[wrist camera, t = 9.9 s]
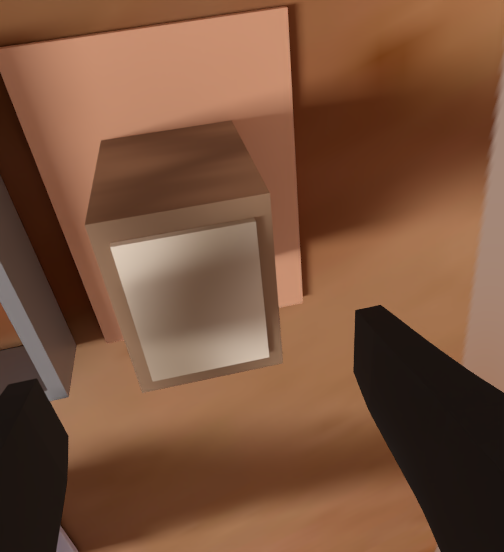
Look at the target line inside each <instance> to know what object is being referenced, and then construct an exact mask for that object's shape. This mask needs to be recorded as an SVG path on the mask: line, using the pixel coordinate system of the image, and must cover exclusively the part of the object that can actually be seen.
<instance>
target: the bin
mask: <svg viewBox="0 0 504 552" xmlns="http://www.w3.org/2000/svg"><path fill="white" fill-rule="evenodd" d="M0 302H1V304H2V306H3V308H4V310H5V312H6V313H7V315H8V317H9V319H10V321H11V323H12V325H13V327H14V328H15V330H16V332H17V334H18V336H19V338H20V340H21V341H22V343H23V345H24V346H20V347H15V348H11V349H6V350H1V351H0V395H1V394H2V392H3V391H4V389H5V388H6V387H7V385H8V384H12V383H17V382H22V381H26V380H31V379H36V378H37V379H38V381H39V383H40V385H41V387H42V388H43V390H44V392H45V394H46V396H47V398H48V400H49V401H53V400H57V399H62V398H66V397H69V391H70V384H71V378H72V371H73V365H74V358H75V352H76V344H75V341H74V339H73V337H72V335H71V332H70V330H69V328H68V326H67V323H66V321H65V319H64V317H63V314H62V312H61V310H60V308H59V305H58V303H57V301H56V299H55V296H54V294H53V292H52V290H51V287H50V285H49V283H48V281H47V278H46V276H45V274H44V272H43V270H42V267H41V265H40V263H39V261H38V258H37V256H36V254H35V252H34V249H33V247H32V245H31V243H30V240H29V238H28V236H27V234H26V231H25V229H24V227H23V225H22V222H21V220H20V218H19V216H18V213H17V211H16V209H15V207H14V205H13V202H12V200H11V198H10V196H9V193H8V191H7V189H6V187H5V184H4V182H3V180H2V178H1V175H0Z"/></svg>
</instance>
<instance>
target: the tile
mask: <svg viewBox="0 0 504 552" xmlns="http://www.w3.org/2000/svg"><path fill="white" fill-rule="evenodd" d="M0 73H1V75H2V78H3V80H4V83H5V86H6V88H7V91H8V93H9V96H10V98H11V101H12V103H13V106H14V108H15V111H16V114H17V116H18V119H19V121H20V124H21V126H22V129H23V131H24V134H25V136H26V139H27V142H28V144H29V147H30V149H31V152H32V154H33V157H34V159H35V162H36V165H37V167H38V170H39V172H40V175H41V177H42V180H43V182H44V185H45V187H46V190H47V193H48V195H49V198H50V200H51V203H52V205H53V208H54V210H55V213H56V215H57V218H58V221H59V223H60V226H61V228H62V231H63V233H64V236H65V238H66V241H67V244H68V246H69V249H70V251H71V254H72V256H73V259H74V261H75V264H76V266H77V269H78V272H79V274H80V277H81V279H82V282H83V284H84V287H85V289H86V292H87V294H88V297H89V300H90V302H91V305H92V307H93V310H94V312H95V315H96V317H97V320H98V323H99V325H100V328H101V330H102V333H103V335H104V338H105V340H106V343H112V342H117V341H121V340H124V338H123V335H122V332H121V330H120V327H119V324H118V321H117V318H116V315H115V312H114V309H113V306H112V303H111V300H110V298H109V295H108V292H107V289H106V286H105V283H104V280H103V277H102V274H101V271H100V268H99V266H98V263H97V260H96V257H95V254H94V251H93V248H92V245H91V242H90V239H89V236H88V233H87V231H86V228H85V220H86V215H87V210H88V205H89V200H90V195H91V189H92V184H93V179H94V174H95V169H96V163H97V158H98V153H99V148H100V143H101V140H108V139H114V138H121V137H127V136H134V135H140V134H146V133H153V132H159V131H166V130H172V129H179V128H185V127H191V126H198V125H204V124H211V123H217V122H224V121H230V120H232V122H233V124H234V126H235V128H236V130H237V132H238V133H239V135H240V137H241V139H242V141H243V143H244V145H245V147H246V149H247V151H248V152H249V154H250V156H251V158H252V160H253V162H254V164H255V166H256V168H257V170H258V171H259V173H260V175H261V177H262V179H263V181H264V183H265V185H266V187H267V188H268V190H269V192H270V201H271V214H272V227H273V240H274V253H275V266H276V279H277V292H278V305H279V308H280V307H285V306H290V305H295V304H299V303H303V293H302V274H301V255H300V236H299V216H298V197H297V178H296V159H295V140H294V120H293V101H292V82H291V63H290V43H289V24H288V7H286V6H280V7H274V8H267V9H260V10H253V11H246V12H239V13H232V14H225V15H218V16H212V17H205V18H198V19H191V20H184V21H177V22H170V23H163V24H156V25H150V26H143V27H136V28H129V29H122V30H115V31H108V32H101V33H94V34H88V35H81V36H74V37H67V38H60V39H53V40H46V41H39V42H32V43H26V44H19V45H12V46H5V47H0Z"/></svg>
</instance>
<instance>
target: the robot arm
mask: <svg viewBox="0 0 504 552" xmlns="http://www.w3.org/2000/svg"><path fill="white" fill-rule="evenodd" d="M353 372H354V374H355V377H356V379H357V382H358V385H359V387H360V390H361V392H362V395H363V397H364V400H365V402H366V405H367V407H368V410H369V412H370V413H371V415H372V417H373V419H374V421H375V423H376V425H377V427H378V428H379V430H380V432H381V434H382V436H383V438H384V440H385V441H386V443H387V445H388V447H389V449H390V451H391V452H392V454H393V456H394V458H395V460H396V462H397V463H398V465H399V467H400V469H401V471H402V473H403V474H404V476H405V478H406V480H407V482H408V484H409V485H410V487H411V489H412V491H413V493H414V494H415V496H416V498H417V500H418V502H419V504H420V506H421V508H422V510H423V512H424V514H425V517H426V519H427V521H428V523H429V526H430V528H431V530H432V533H433V535H434V537H435V540H436V542H437V544H438V547H439V549H440V551H441V552H504V393H503V392H502V391H500V390H498V389H497V388H495V387H494V386H492V385H491V384H489V383H488V382H486V381H484V380H483V379H481V378H479V377H478V376H477V375H475V374H474V373H472V372H471V371H469V370H468V369H466V368H465V367H463V366H462V365H461V364H459V363H458V362H456V361H455V360H454V359H452V358H451V357H449V356H448V355H446V354H445V353H444V352H442V351H441V350H439V349H438V348H437V347H435V346H434V345H433V344H431V343H430V342H429V341H427V340H426V339H425V338H423V337H422V336H421V335H419V334H418V333H417V332H415V331H414V330H413V329H411V328H410V327H409V326H408V325H406V324H405V323H404V322H402V321H401V320H400V319H398V318H397V317H396V316H395V315H393V314H392V313H391V312H389V311H388V310H387V309H385V308H384V307H383V306H381V305H378V306H373V307H369V308H364V309H359V310H355V339H354V371H353ZM67 471H68V435H67V433H66V431H65V429H64V427H63V425H62V423H61V422H60V420H59V418H58V416H57V414H56V412H55V411H54V409H53V407H52V405H51V403H50V401H49V400H48V398H47V396H46V394H45V392H44V390H43V388H42V387H41V385H40V383H39V381H38V379H37V378H36V379H31V380H26V381H22V382H17V383H12V384H8V385H7V387H6V388H5V389H4V391H3V392H2V394H1V395H0V552H78V550H77V549H76V547H75V546H74V544H73V543H72V541H71V540H70V539H69V537H68V536H67V534H66V533H65V531H64V530H63V528H62V527H61V518H62V512H63V505H64V499H65V492H66V485H67Z"/></svg>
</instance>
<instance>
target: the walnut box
mask: <svg viewBox="0 0 504 552" xmlns="http://www.w3.org/2000/svg"><path fill="white" fill-rule="evenodd" d="M85 228H86V231H87V233H88V236H89V239H90V242H91V245H92V248H93V251H94V254H95V257H96V260H97V263H98V266H99V268H100V271H101V274H102V277H103V280H104V283H105V286H106V289H107V292H108V295H109V298H110V300H111V303H112V306H113V309H114V312H115V315H116V318H117V321H118V324H119V327H120V330H121V332H122V335H123V338H124V341H125V344H126V347H127V350H128V353H129V356H130V359H131V362H132V364H133V367H134V370H135V373H136V376H137V379H138V382H139V385H140V388H141V391H142V393H145V392H149V391H154V390H159V389H163V388H168V387H173V386H178V385H182V384H187V383H192V382H197V381H201V380H206V379H211V378H215V377H220V376H225V375H230V374H234V373H239V372H244V371H249V370H253V369H258V368H263V367H268V366H272V365H277V364H282V363H283V357H282V344H281V331H280V318H279V305H278V292H277V279H276V266H275V253H274V240H273V227H272V214H271V201H270V192H269V190H268V188H267V187H266V185H265V183H264V181H263V179H262V177H261V175H260V173H259V171H258V170H257V168H256V166H255V164H254V162H253V160H252V158H251V156H250V154H249V152H248V151H247V149H246V147H245V145H244V143H243V141H242V139H241V137H240V135H239V133H238V132H237V130H236V128H235V126H234V124H233V122H232V120H230V121H224V122H217V123H211V124H204V125H198V126H191V127H185V128H179V129H172V130H166V131H159V132H153V133H146V134H140V135H134V136H127V137H121V138H114V139H108V140H101V143H100V148H99V153H98V158H97V163H96V169H95V174H94V179H93V184H92V189H91V195H90V200H89V205H88V210H87V215H86V220H85Z"/></svg>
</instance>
